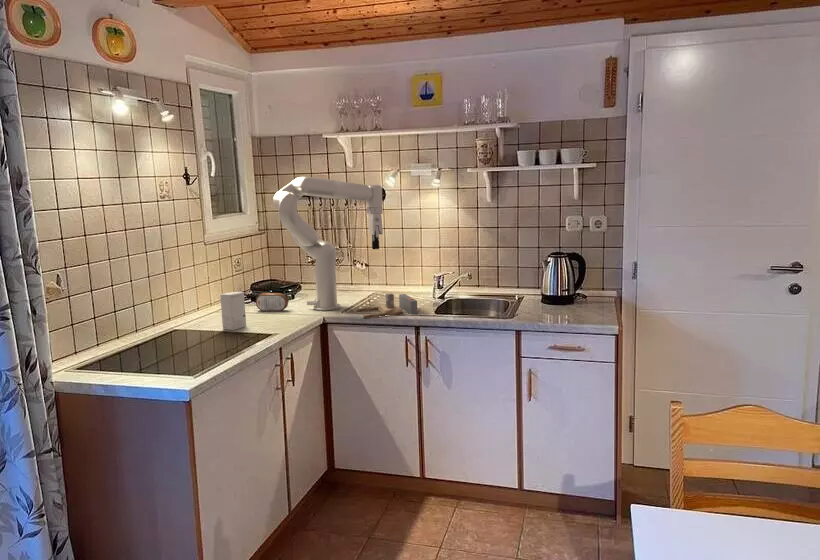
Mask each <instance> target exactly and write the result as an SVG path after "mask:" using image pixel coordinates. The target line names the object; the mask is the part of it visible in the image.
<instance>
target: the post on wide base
mask: <svg viewBox="0 0 820 560" xmlns="http://www.w3.org/2000/svg"><path fill="white" fill-rule="evenodd" d="M377 307H378V309H379V310H378V311H380V312H381V314H383V313H394V312H403V309H402V308H400V307H399V305H397V304H395V295H394V293H385V304H384V305H378V306H377Z"/></svg>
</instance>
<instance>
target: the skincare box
mask: <svg viewBox="0 0 820 560" xmlns="http://www.w3.org/2000/svg"><path fill="white" fill-rule="evenodd" d="M219 295H220V305H221V306H220V307H221V310H220V311H221V320H222V321H221V322H222V329H223V330H227V331H235V330H239V329H241V328H245V327H247V318H246V317H247V315H246V305H245V304H246V303H245V302H246V301H245V292H244V291H243V292H242V291H231V292H225V293H221V294H219Z"/></svg>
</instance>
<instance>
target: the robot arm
mask: <svg viewBox="0 0 820 560" xmlns="http://www.w3.org/2000/svg"><path fill="white" fill-rule="evenodd" d="M303 196H309V197H316V198H325V199H333V200H339V199H341V200H344V199H345V200H353V201H356V202H366V215H368V232H369V234H371V249H372V250H380V236H381V235H383V234H384V231H383V218H382V214H383V213H384V212H383V187H382V186H381V185H380V184H368V185H367V184H361V183H356V182H355V183H354V182H346V181H341V180H340V181H339V180H334V179H330V178H329V179H327V178H322V177H321V178H320V177H312V176H299V177H296V178H294V179H293V180H291V182H289V183H288V184H287V185H285V186H283V187H282V188H281V189H280V190H278V191H277V192H276V193H275V194H274V196H273V197H272V198H273V199H272V202H273V205H274V207H275V208H276V209H278V217H279V219H280V220H279V221H280V222H281V224H282V226H283V227H284V228H285V229H286V230H287V231H288V232H289V233H290V234H291V237H292V240H293V242H294V244H296V245H297V246H298V247H299V248H300V249H302V250H303V251H304V252H305V254H307V255H308V256H309V257H310V258H312V259H314V260H315V263H314V264H315V266H314V276H315V278H314V279H315V294H316V296H315V298H314V299H313V300H307V301H306V305H307V306H313V309H314V310H315V311H323V312H325V311H335V310H338V309H340V308H341V304H340V303H338V294H337V293H338V292H337V276H336V275H337V274H336V260H337V250H336V247H335V246H334V245H333V244H332V243H331V242H330V241H327V240H322V239H321V238H320V237H319V233H318V232H317V230H316V229H315V228H314V227H313V226H311V225H310V224H309V223H308V222H307V221H306V220H305V219H304V218H303V217H302V216H301V215H300V214H299V213H298V200H300V199H301V198H302V197H303Z"/></svg>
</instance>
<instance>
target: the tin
mask: <svg viewBox="0 0 820 560" xmlns="http://www.w3.org/2000/svg"><path fill="white" fill-rule="evenodd" d="M255 305H256V307H257V309H259V310H260V311H261V312H282V311H283V310H285V309H286V308H287V307H288V306H289V300H288V297H287V295H285V294H284V293H281V292H262V293H260V294H259V295H258V296H257V297H256V299H255Z"/></svg>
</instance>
